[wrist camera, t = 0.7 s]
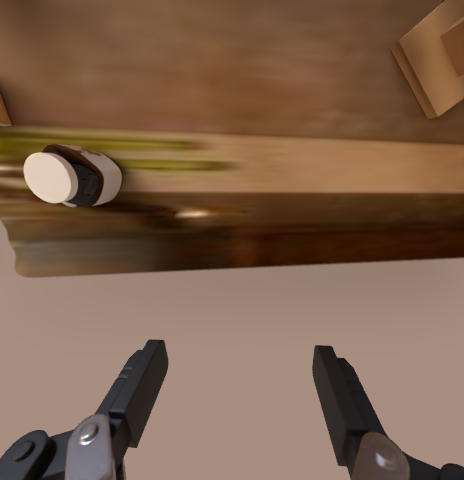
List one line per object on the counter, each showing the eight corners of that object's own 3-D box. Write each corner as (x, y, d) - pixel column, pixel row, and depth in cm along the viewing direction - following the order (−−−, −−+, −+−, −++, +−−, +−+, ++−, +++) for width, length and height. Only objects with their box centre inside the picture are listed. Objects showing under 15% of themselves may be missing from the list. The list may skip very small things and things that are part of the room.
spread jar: (133, 170, 40) (88, 174, 29) (113, 220, 44) (67, 239, 33) (73, 133, 38) (2, 122, 27) (57, 187, 42) (-10, 197, 31)
